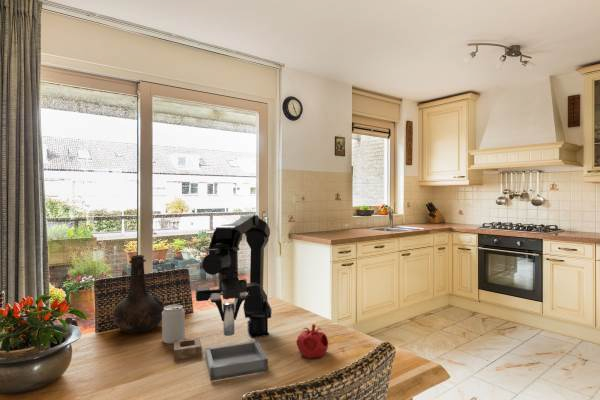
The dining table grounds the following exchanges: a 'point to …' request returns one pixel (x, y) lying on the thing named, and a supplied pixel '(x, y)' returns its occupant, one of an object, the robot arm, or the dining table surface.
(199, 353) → the socket block
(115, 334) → the dining table surface
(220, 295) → the robot arm
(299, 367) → the dining table surface
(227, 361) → the tray
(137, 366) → the dining table surface
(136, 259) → the brown vase
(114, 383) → the dining table surface
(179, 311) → the can
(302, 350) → the pomegranate
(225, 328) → the pin
